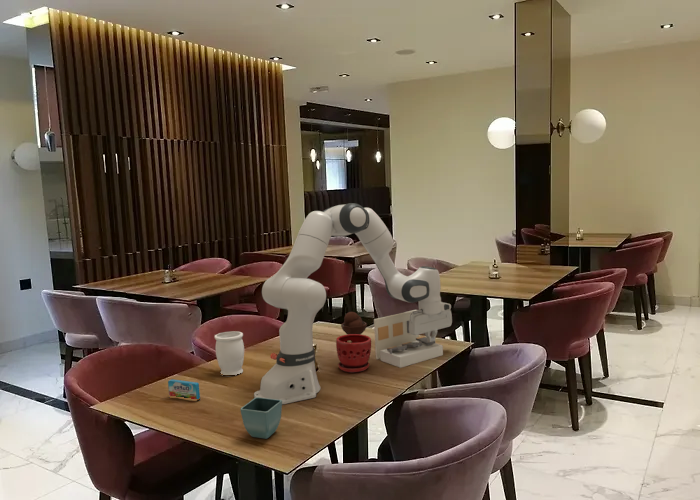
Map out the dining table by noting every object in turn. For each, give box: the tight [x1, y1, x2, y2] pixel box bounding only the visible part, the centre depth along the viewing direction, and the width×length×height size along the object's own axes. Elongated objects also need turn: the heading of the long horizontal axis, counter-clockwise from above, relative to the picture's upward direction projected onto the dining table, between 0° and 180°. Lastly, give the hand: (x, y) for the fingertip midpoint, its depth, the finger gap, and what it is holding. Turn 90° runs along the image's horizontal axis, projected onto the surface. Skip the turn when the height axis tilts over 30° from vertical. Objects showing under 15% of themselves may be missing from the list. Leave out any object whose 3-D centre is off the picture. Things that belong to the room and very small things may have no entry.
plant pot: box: [335, 334, 372, 373], centre depth 209 cm, size 13×13×12 cm
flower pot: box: [240, 397, 283, 440], centre depth 156 cm, size 9×9×9 cm
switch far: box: [416, 335, 436, 345], centre depth 223 cm, size 4×7×1 cm, turn 35°
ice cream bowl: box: [340, 311, 368, 343], centre depth 239 cm, size 11×11×15 cm
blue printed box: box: [167, 378, 201, 399], centre depth 187 cm, size 12×2×6 cm, turn 65°
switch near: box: [387, 346, 407, 351], centre depth 214 cm, size 4×7×1 cm, turn 35°
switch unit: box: [373, 309, 444, 369], centre depth 219 cm, size 22×15×16 cm
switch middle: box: [402, 342, 421, 347], centre depth 218 cm, size 4×7×1 cm, turn 35°
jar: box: [214, 330, 245, 376], centre depth 211 cm, size 11×10×15 cm
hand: (431, 341), depth 220 cm, fingers closed
